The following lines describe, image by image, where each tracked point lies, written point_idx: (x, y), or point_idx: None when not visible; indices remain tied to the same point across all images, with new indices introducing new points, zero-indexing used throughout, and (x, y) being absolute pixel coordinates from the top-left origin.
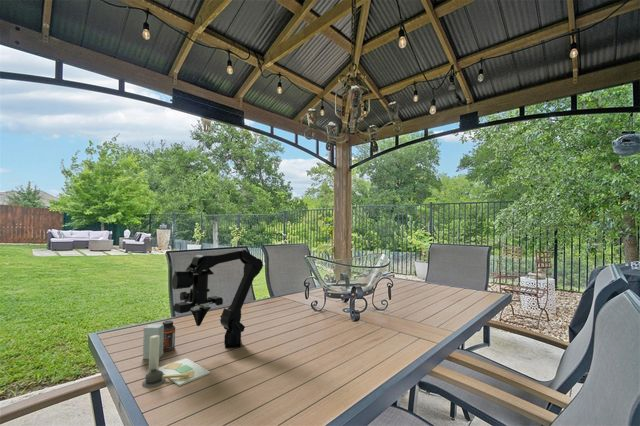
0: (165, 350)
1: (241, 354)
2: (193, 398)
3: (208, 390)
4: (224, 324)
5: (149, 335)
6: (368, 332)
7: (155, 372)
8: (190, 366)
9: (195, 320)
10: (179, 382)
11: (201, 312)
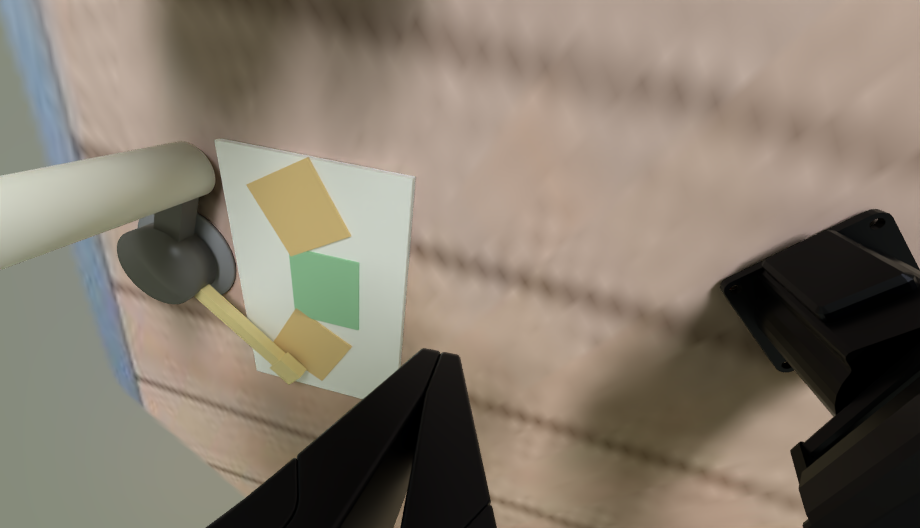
0: None
1: (652, 420)
2: (270, 444)
3: None
4: (874, 459)
5: None
6: None
7: (162, 257)
8: (364, 298)
9: (352, 424)
10: (263, 360)
11: None
